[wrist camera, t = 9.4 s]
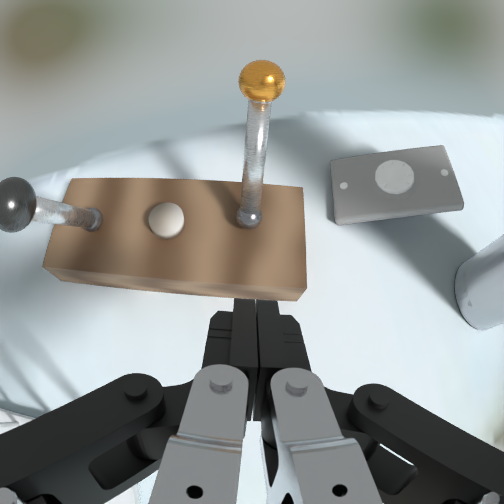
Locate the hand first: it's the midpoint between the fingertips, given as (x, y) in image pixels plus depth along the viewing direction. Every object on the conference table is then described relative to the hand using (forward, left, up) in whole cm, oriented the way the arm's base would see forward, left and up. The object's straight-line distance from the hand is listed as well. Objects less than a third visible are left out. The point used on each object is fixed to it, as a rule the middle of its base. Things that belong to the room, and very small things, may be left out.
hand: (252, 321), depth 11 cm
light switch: (-16, -18, -17) cm, 29 cm away
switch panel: (+7, -10, -16) cm, 21 cm away
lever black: (+14, -10, -12) cm, 21 cm away
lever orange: (0, -10, -12) cm, 16 cm away
